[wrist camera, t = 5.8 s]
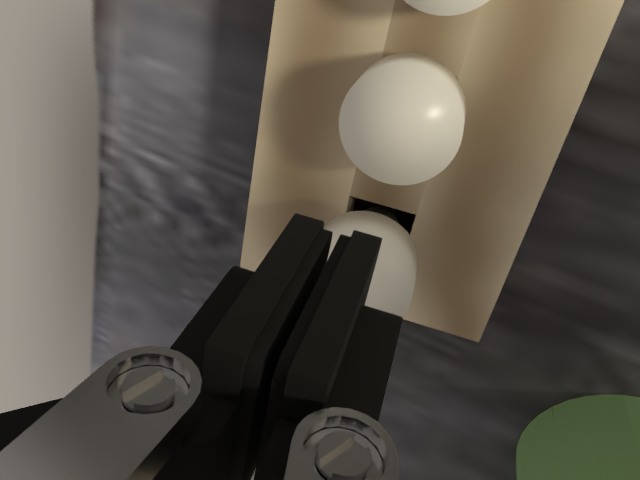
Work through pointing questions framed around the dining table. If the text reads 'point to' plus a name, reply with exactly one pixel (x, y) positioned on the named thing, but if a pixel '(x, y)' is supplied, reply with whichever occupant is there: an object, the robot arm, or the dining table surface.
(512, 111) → the board
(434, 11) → the white egg
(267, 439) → the robot arm
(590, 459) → the mug
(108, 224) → the dining table surface
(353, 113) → the white egg
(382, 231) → the egg
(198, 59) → the dining table surface
